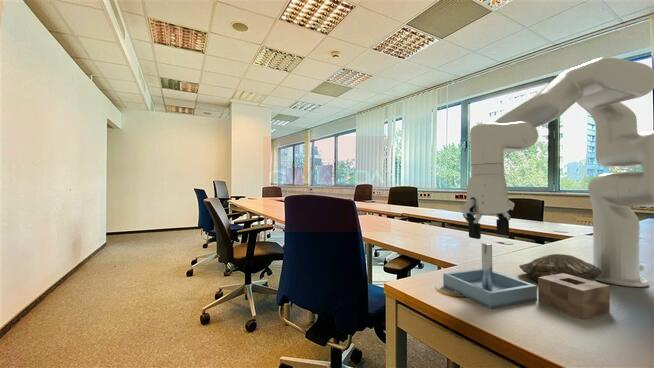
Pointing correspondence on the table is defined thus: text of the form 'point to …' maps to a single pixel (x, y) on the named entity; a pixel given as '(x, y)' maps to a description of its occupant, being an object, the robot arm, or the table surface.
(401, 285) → the table surface
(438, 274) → the table surface
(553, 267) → the crinkled plastic bag
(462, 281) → the tray
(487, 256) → the steel pin
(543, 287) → the pin holder
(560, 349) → the table surface
